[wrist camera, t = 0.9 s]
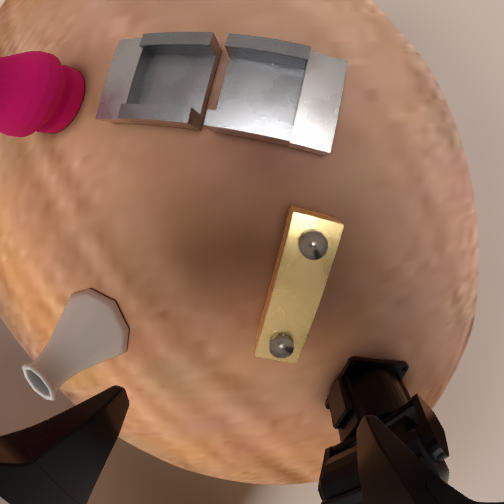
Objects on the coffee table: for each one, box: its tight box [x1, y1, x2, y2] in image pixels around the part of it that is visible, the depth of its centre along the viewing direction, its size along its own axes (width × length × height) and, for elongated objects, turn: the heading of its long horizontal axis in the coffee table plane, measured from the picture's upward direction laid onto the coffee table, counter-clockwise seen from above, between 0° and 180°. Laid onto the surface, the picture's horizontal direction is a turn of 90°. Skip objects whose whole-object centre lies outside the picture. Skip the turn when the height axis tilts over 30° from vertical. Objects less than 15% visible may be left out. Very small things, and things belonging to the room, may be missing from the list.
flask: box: [22, 289, 129, 400], centre depth 18 cm, size 7×7×10 cm
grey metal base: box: [96, 32, 348, 156], centre depth 15 cm, size 16×6×3 cm, turn 78°
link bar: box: [254, 205, 344, 364], centre depth 18 cm, size 10×3×4 cm, turn 168°
